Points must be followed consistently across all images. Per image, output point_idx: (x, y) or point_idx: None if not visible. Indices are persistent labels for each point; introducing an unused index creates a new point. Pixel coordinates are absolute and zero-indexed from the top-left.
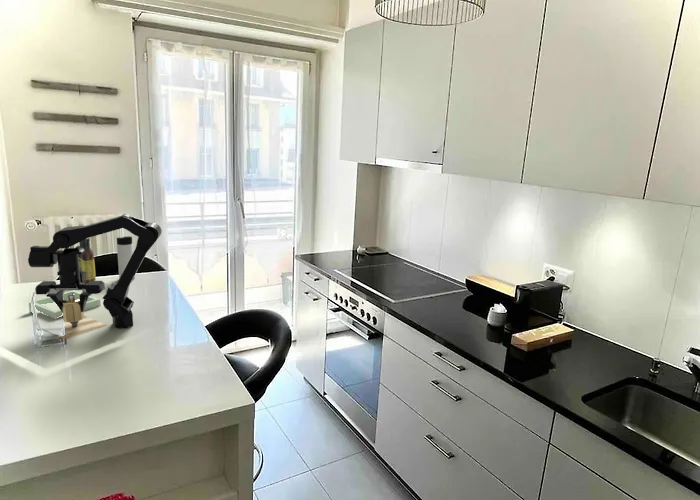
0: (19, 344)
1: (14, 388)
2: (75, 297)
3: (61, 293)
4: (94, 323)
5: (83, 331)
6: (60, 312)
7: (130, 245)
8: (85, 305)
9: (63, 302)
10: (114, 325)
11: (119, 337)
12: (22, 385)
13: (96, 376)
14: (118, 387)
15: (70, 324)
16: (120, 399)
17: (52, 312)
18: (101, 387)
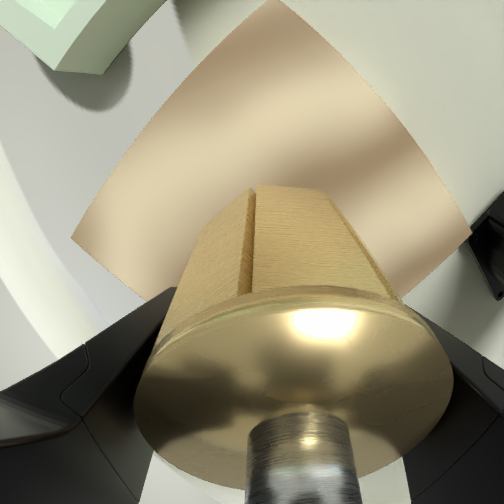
0: (75, 338)
1: (226, 497)
2: (342, 332)
3: (62, 495)
4: (404, 190)
5: None
6: (92, 30)
7: None
8: (439, 327)
9: (200, 474)
10: (500, 275)
11: (481, 323)
12: (237, 495)
13: (379, 480)
14: (408, 488)
15: (231, 183)
16: (403, 499)
17: (39, 53)
18: (383, 493)
